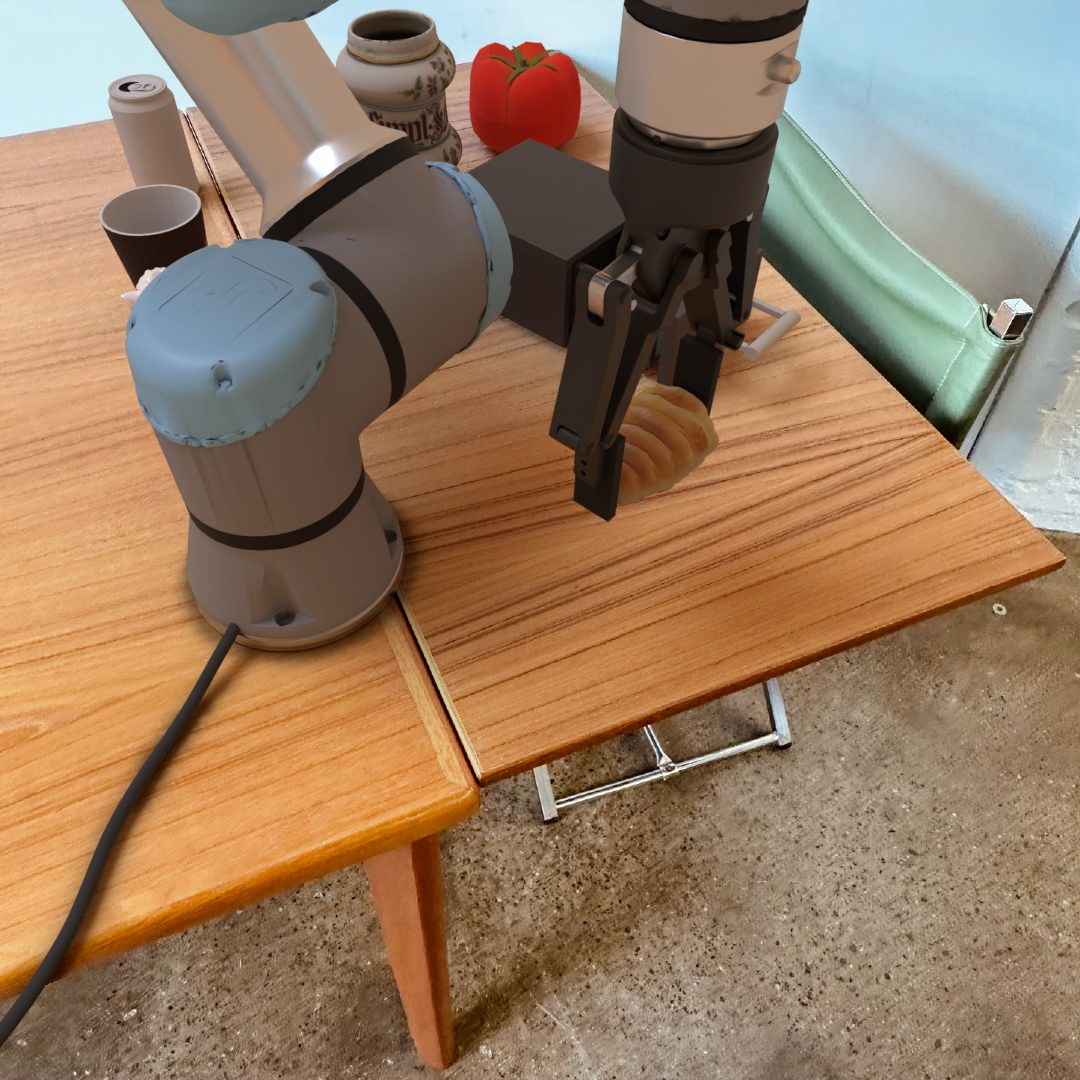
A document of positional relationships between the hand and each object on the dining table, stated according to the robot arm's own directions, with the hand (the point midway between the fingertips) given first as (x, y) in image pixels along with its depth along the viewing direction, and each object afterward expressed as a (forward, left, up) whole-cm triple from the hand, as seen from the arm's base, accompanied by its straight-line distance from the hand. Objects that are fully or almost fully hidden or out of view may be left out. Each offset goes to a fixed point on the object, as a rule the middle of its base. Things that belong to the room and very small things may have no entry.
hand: (642, 463), depth 58 cm
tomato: (+45, +49, -12) cm, 67 cm away
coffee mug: (0, +53, -12) cm, 54 cm away
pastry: (+1, 0, 0) cm, 1 cm away
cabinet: (+25, +29, -11) cm, 40 cm away
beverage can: (+10, +70, -12) cm, 71 cm away
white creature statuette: (-7, +41, -12) cm, 43 cm away
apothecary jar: (+27, +50, -12) cm, 58 cm away
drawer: (+25, +14, -10) cm, 30 cm away
